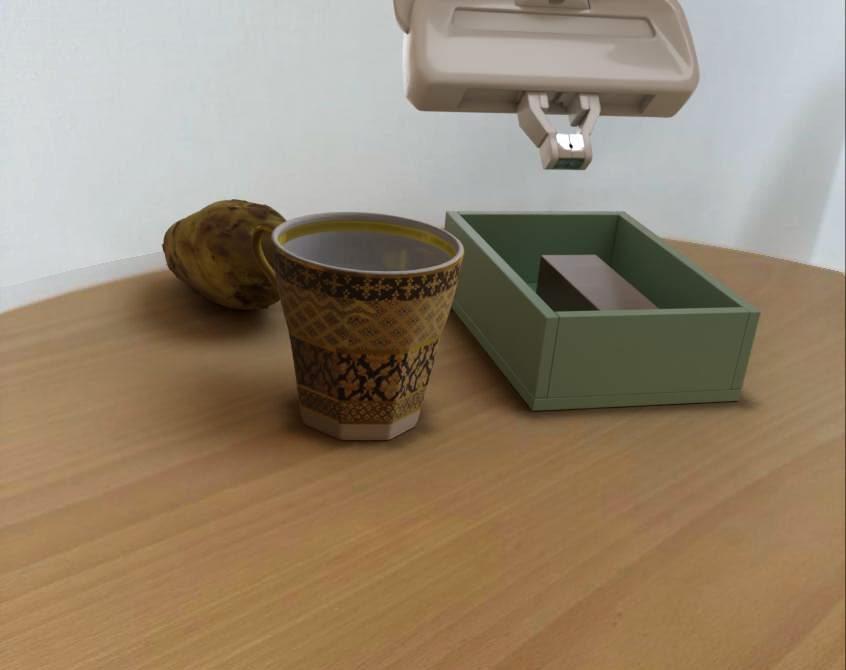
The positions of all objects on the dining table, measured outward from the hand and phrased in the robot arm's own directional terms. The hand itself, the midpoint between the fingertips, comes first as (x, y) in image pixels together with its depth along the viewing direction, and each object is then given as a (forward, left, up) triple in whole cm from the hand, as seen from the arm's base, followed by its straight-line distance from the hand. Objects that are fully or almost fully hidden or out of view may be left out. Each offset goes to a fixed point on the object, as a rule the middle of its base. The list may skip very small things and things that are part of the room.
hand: (568, 165), depth 76 cm
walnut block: (0, +2, -7) cm, 8 cm away
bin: (0, +5, -10) cm, 11 cm away
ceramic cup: (+18, +13, -10) cm, 25 cm away
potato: (+22, -2, -10) cm, 24 cm away
